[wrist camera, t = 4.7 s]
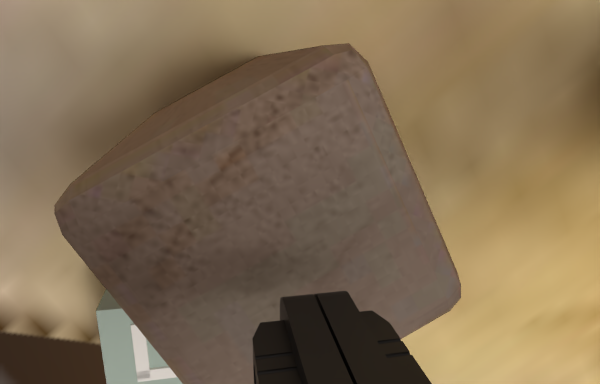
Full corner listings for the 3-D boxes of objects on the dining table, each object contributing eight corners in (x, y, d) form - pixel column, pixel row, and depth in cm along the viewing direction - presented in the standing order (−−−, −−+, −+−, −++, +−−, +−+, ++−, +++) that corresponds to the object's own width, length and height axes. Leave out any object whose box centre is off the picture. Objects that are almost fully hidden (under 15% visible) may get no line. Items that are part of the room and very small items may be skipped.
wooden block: (330, 170, 33) (482, 307, 14) (217, 232, 33) (224, 456, 14) (269, 49, 30) (365, 25, 11) (143, 118, 30) (23, 213, 11)
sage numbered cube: (214, 253, 34) (214, 301, 27) (218, 332, 36) (219, 395, 29) (117, 260, 32) (91, 313, 25) (127, 342, 34) (106, 410, 27)
